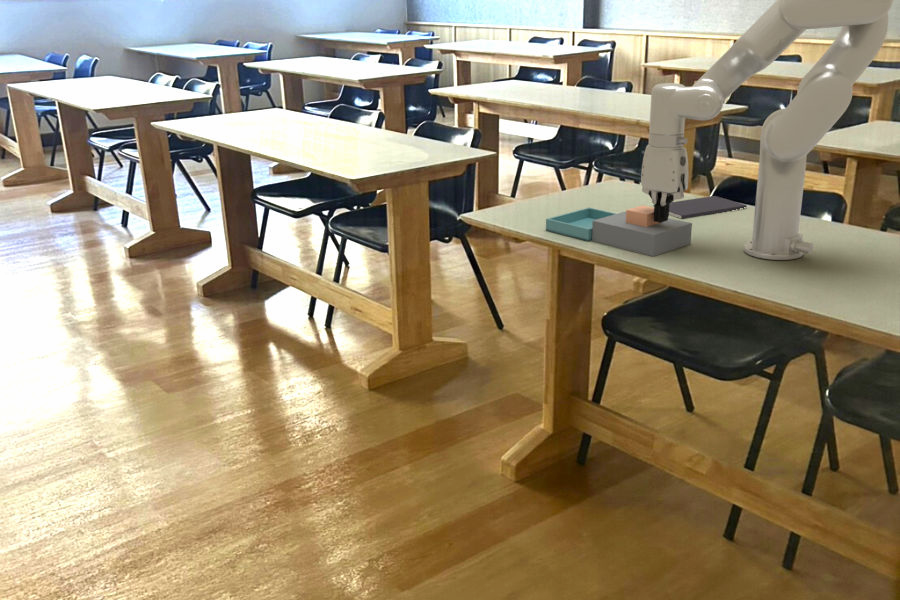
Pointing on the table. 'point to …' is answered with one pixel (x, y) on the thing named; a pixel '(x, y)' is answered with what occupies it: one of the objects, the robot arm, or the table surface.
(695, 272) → the table surface
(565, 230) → the tray
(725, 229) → the table surface
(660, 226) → the slate bench plate
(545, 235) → the table surface
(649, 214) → the terracotta block
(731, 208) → the notebook
